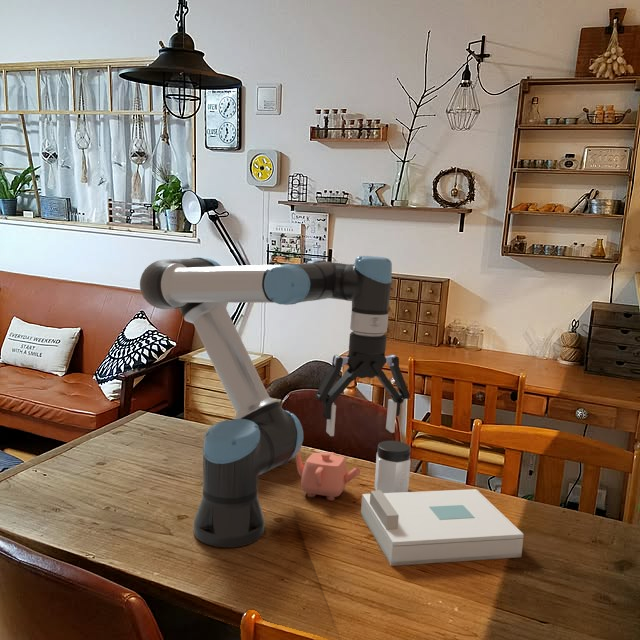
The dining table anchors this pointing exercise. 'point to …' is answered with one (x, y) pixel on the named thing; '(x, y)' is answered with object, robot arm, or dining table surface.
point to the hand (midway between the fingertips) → (360, 432)
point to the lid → (438, 517)
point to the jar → (392, 467)
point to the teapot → (324, 474)
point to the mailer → (440, 547)
